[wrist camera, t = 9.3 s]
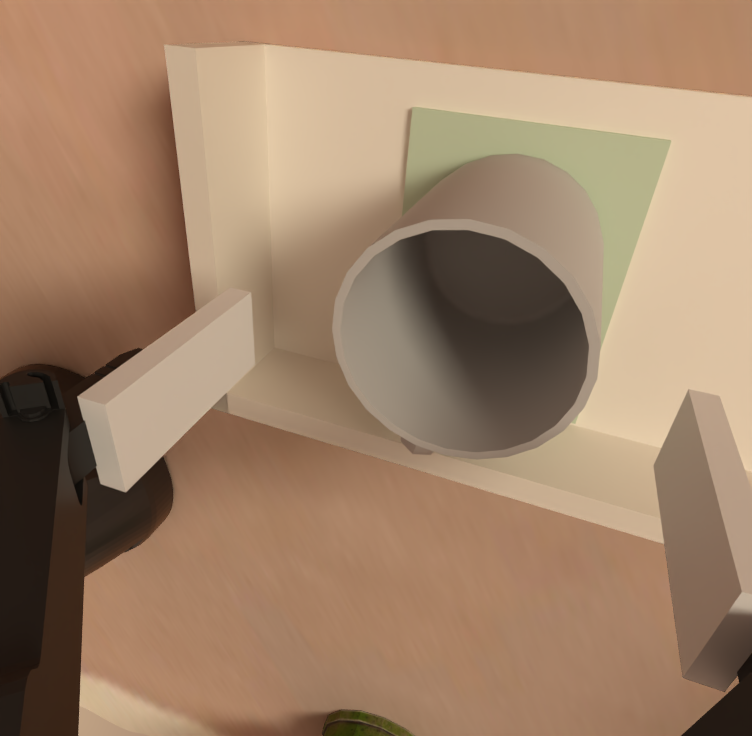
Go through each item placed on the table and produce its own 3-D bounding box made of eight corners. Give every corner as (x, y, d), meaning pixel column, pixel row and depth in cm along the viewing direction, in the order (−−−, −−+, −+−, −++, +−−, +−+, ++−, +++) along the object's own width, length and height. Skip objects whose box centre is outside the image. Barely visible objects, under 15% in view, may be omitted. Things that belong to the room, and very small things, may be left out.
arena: (259, 356, 31) (206, 407, 27) (244, 41, 22) (164, 44, 18) (741, 485, 25) (767, 574, 21) (959, 118, 16) (1071, 148, 12)
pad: (388, 371, 27) (386, 375, 27) (414, 106, 21) (412, 107, 21) (575, 420, 25) (575, 423, 25) (670, 140, 19) (671, 141, 18)
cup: (643, 191, 19) (661, 289, 12) (524, 402, 25) (491, 550, 18) (452, 121, 20) (367, 172, 13) (381, 339, 26) (295, 456, 19)
